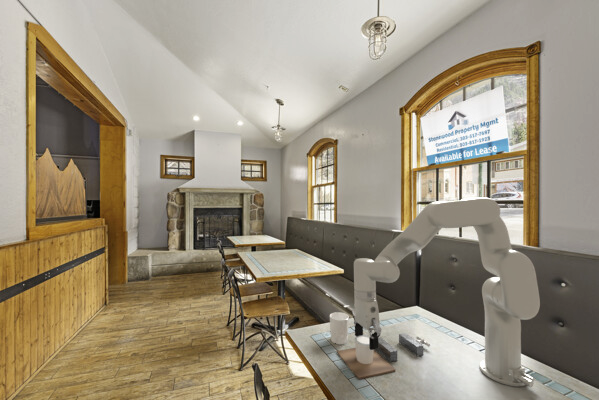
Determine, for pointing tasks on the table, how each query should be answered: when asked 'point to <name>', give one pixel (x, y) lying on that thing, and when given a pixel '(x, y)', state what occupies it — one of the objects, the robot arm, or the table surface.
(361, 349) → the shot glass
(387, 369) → the serving board
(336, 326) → the white cup
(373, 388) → the table surface
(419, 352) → the vise
